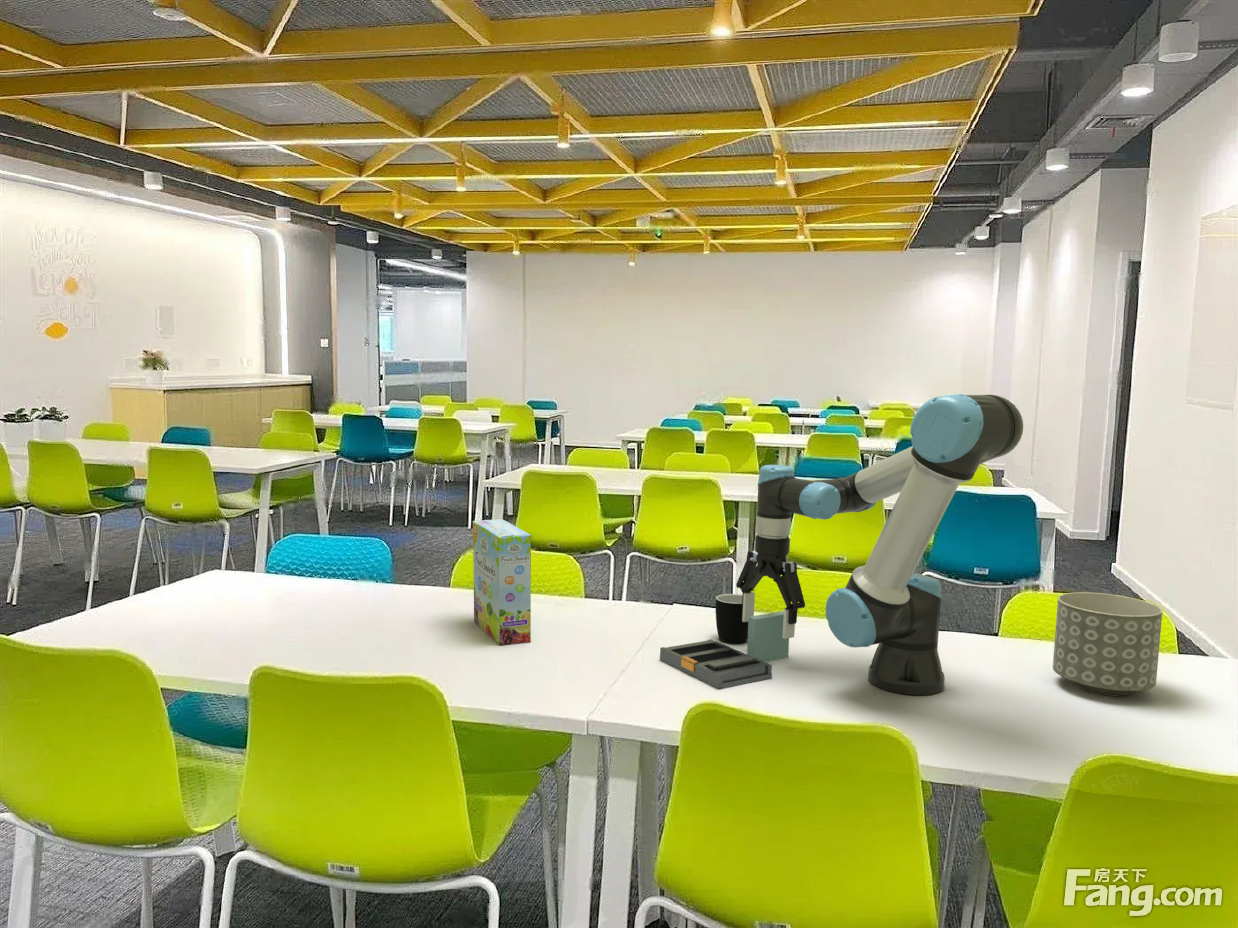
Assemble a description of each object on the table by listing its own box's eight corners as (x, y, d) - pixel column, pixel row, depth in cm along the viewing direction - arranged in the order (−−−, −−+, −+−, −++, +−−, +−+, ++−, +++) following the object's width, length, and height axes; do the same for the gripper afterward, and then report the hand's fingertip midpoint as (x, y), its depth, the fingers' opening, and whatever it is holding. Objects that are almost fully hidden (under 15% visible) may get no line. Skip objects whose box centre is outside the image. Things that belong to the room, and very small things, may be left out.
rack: (771, 678, 194) (772, 661, 194) (717, 689, 187) (718, 672, 186) (710, 650, 212) (710, 635, 212) (658, 659, 205) (659, 644, 204)
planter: (1064, 667, 206) (1071, 587, 204) (1162, 688, 194) (1170, 603, 192) (1040, 689, 191) (1046, 603, 189) (1144, 713, 179) (1152, 621, 177)
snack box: (470, 622, 231) (470, 519, 228) (503, 618, 235) (504, 518, 232) (496, 646, 211) (497, 535, 209) (532, 642, 215) (534, 533, 212)
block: (788, 657, 209) (790, 613, 208) (753, 663, 204) (755, 619, 203) (781, 654, 211) (782, 611, 210) (746, 660, 206) (748, 616, 205)
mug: (753, 646, 216) (754, 604, 215) (714, 644, 217) (715, 602, 216) (750, 632, 228) (752, 591, 227) (714, 630, 229) (715, 589, 228)
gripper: (825, 545, 196) (819, 642, 199) (749, 524, 217) (744, 612, 220) (799, 547, 192) (793, 647, 195) (724, 526, 213) (719, 616, 216)
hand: (767, 629), depth 207 cm, fingers open, 13 cm apart
